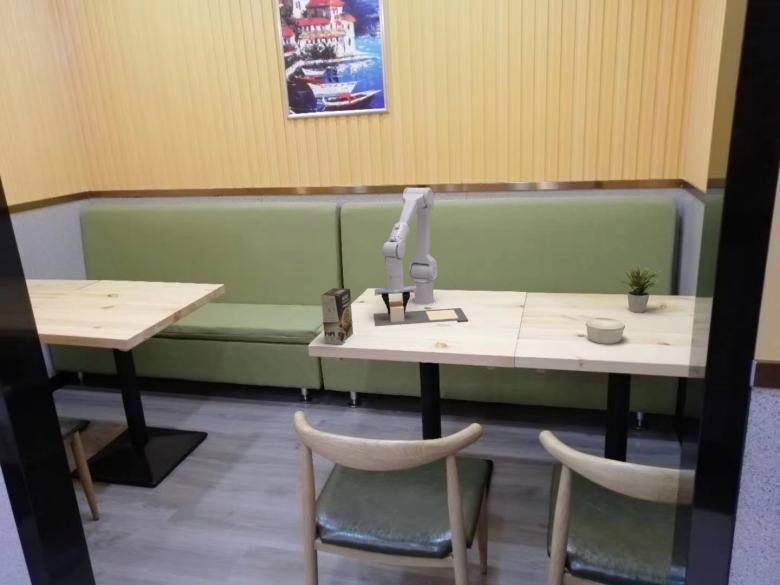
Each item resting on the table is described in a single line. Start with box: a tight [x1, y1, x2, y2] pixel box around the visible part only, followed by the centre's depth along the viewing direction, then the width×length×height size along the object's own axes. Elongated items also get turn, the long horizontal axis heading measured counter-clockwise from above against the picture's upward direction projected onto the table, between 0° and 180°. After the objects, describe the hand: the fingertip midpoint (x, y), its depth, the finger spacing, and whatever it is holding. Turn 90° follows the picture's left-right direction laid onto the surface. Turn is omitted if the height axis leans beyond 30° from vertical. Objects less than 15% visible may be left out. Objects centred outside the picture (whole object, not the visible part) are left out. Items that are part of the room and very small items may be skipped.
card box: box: [389, 300, 404, 322], centre depth 205 cm, size 8×5×5 cm, turn 4°
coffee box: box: [320, 287, 354, 346], centre depth 187 cm, size 9×6×16 cm
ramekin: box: [585, 317, 626, 345], centre depth 177 cm, size 11×11×5 cm
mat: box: [372, 307, 469, 327], centre depth 206 cm, size 14×32×1 cm, turn 94°
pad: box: [426, 310, 458, 321], centre depth 206 cm, size 10×10×1 cm
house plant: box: [619, 264, 662, 314], centre depth 199 cm, size 14×14×16 cm
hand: (396, 313), depth 205 cm, fingers closed on card box, 5 cm apart
